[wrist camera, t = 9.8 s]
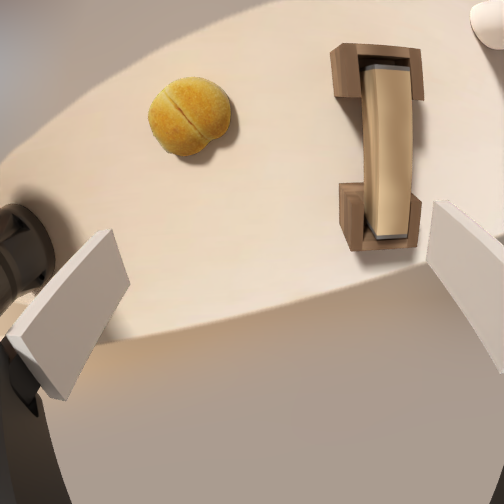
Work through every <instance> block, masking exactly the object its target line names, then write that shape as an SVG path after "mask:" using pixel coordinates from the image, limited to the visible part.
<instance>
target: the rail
mask: <svg viewBox="0 0 504 504" xmlns="http://www.w3.org/2000/svg"><path fill="white" fill-rule="evenodd" d="M359 75H360V86H361V104H362V121H363V148H364V219H365V221H366V222H367V224H368V226H369V227H370V229H371V231H372V232H373V234H374V236H375V238H376V239H391V238H407V232H408V222H409V211H410V197H411V180H412V146H413V130H412V96H411V80H410V67H404V66H393V65H378V64H374V65H370V66H366V67H362V68H359Z"/></svg>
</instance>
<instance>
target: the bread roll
mask: <svg viewBox="0 0 504 504" xmlns="http://www.w3.org/2000/svg"><path fill="white" fill-rule="evenodd" d="M230 117H231V109H230V103H229V99H228V97H227V95H226V93H225V92H224V91H223V89H222V88H221V87H219V86H218V85H217V84H215V83H213V82H211V81H209V80H206V79H204V78H199V77H186V78H182V79H178V80H176V81H174V82H172V83H170V84H169V85H168V86H166V87H165V88H164V89H163V90H162V91H161V92H160V93H159V94H158V95H157V96H156V98H155V99H154V101H153V102H152V104H151V106H150V109H149V113H148V120H149V124H150V126H151V129H152V132H153V136H155V137H156V139H157V140H158V142H159V143H160V144H161V146H162V147H163V149H164V150H165V151H166V152H168V153H173V154H176V155H179V156H188V155H192V154H195V153H198V152H199V151H201V150H202V149H203V148H204V147H205V146H206V145H207V144H208V143H209V142H210V141H211V140H213V139H217V138H219V137H221V136H223V135H224V134H225V132H226V131H227V129H228V127H229V124H230Z"/></svg>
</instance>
